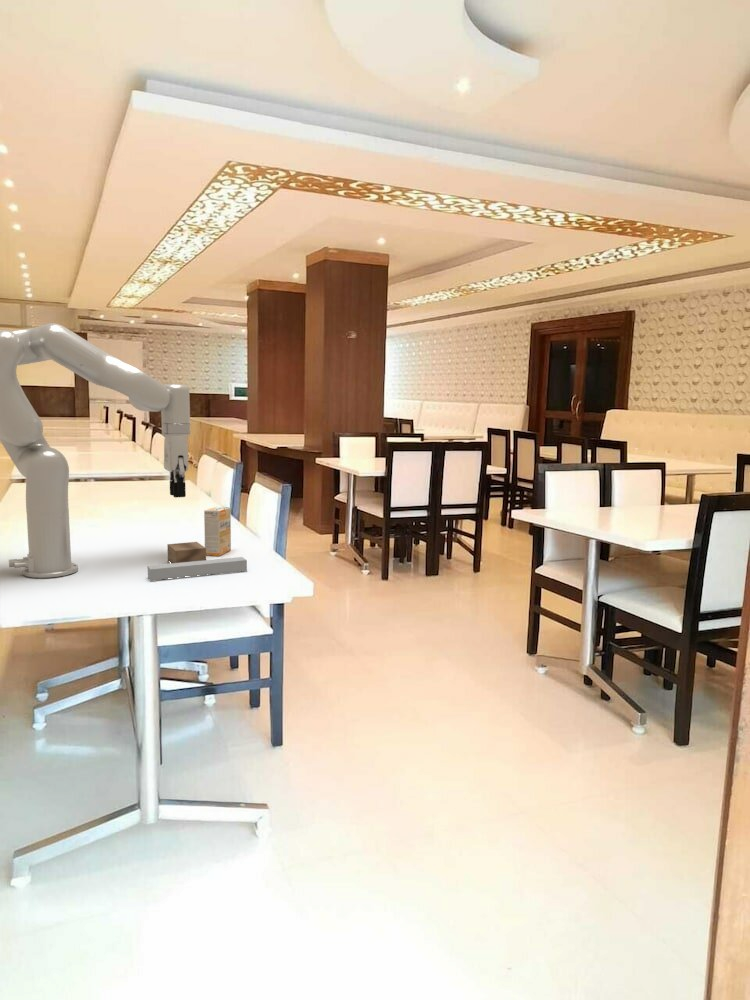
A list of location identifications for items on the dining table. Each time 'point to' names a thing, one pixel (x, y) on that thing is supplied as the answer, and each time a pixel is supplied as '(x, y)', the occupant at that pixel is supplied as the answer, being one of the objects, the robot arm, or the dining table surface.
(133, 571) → the dining table surface
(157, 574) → the grey board
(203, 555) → the walnut block
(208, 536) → the supplement box
